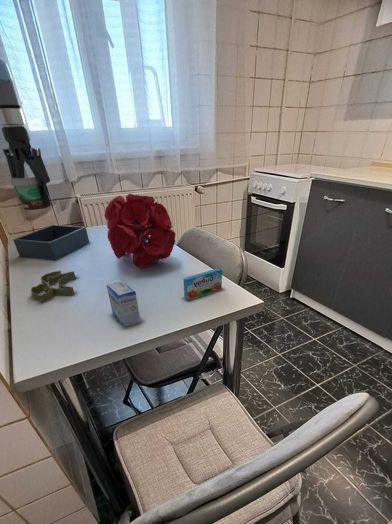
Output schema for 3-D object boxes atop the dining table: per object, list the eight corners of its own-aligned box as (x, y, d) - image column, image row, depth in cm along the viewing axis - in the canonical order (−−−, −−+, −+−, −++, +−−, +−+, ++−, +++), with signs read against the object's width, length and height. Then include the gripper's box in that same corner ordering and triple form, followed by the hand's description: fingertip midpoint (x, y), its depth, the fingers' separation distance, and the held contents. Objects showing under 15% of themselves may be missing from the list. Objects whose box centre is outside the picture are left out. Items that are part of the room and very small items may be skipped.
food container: (27, 212, 103) (15, 179, 97) (20, 210, 106) (8, 178, 100) (60, 206, 110) (51, 175, 104) (52, 203, 113) (43, 173, 107)
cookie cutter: (73, 297, 86) (71, 291, 85) (29, 304, 83) (27, 297, 82) (77, 274, 100) (75, 268, 98) (39, 279, 97) (37, 273, 96)
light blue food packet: (187, 300, 82) (186, 280, 78) (184, 298, 83) (183, 278, 79) (221, 289, 87) (222, 269, 83) (218, 287, 88) (218, 267, 84)
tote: (19, 256, 116) (12, 239, 112) (56, 240, 133) (52, 224, 129) (55, 260, 112) (49, 242, 108) (89, 242, 128) (85, 227, 124)
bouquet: (104, 281, 111) (132, 261, 85) (82, 217, 107) (105, 176, 81) (154, 270, 122) (192, 249, 96) (136, 212, 118) (171, 174, 92)
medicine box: (112, 314, 77) (105, 284, 72) (128, 309, 79) (122, 279, 74) (124, 327, 72) (118, 295, 67) (141, 321, 74) (135, 290, 69)
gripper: (47, 125, 94) (68, 203, 108) (-1, 127, 99) (25, 201, 113) (29, 125, 88) (53, 208, 102) (-20, 127, 94) (9, 205, 108)
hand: (38, 204), depth 108 cm, fingers closed on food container, 7 cm apart
